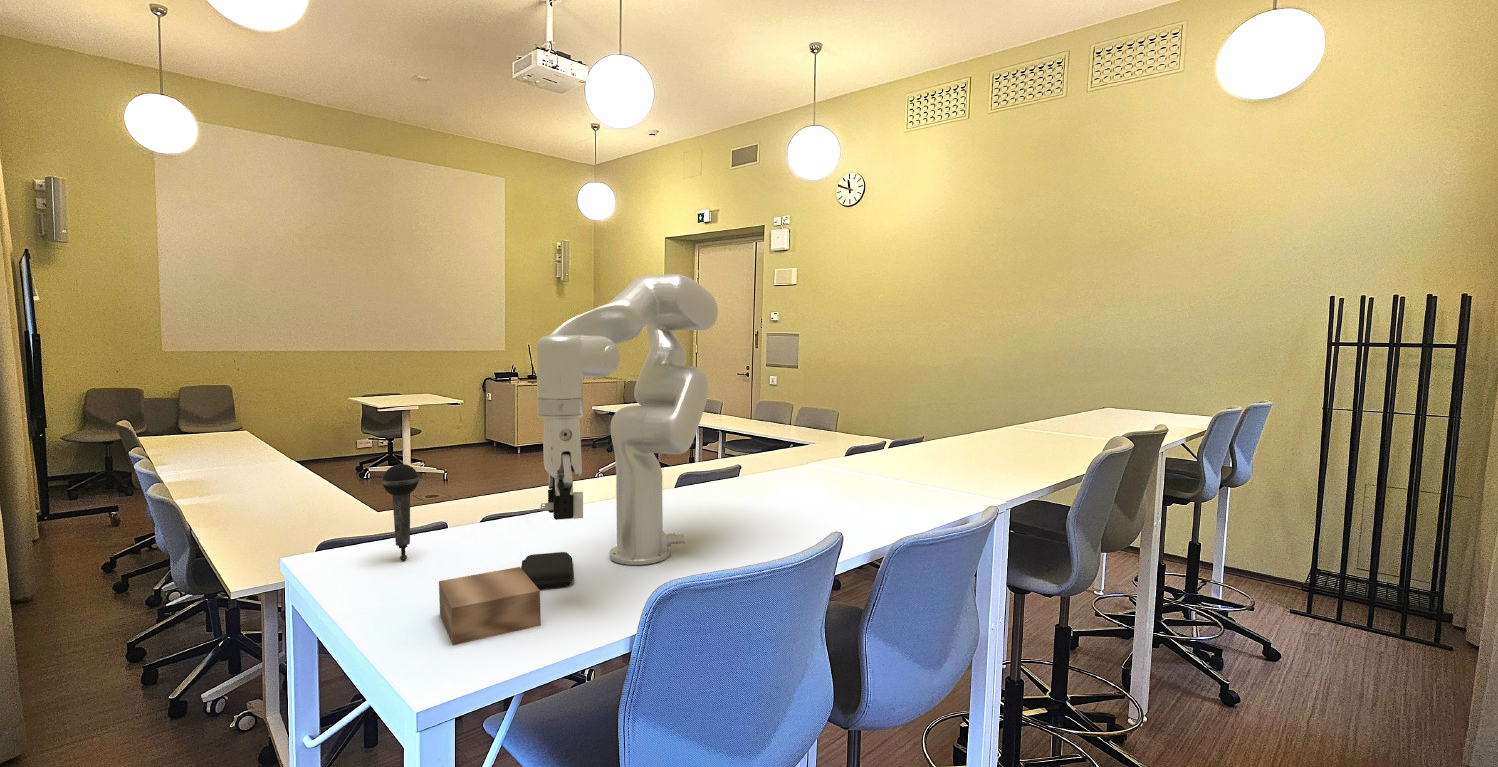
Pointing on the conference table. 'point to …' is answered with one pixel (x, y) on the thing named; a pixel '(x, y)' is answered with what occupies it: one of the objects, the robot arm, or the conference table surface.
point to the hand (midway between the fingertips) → (560, 513)
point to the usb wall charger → (576, 504)
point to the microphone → (401, 500)
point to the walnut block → (488, 604)
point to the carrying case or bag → (549, 569)
